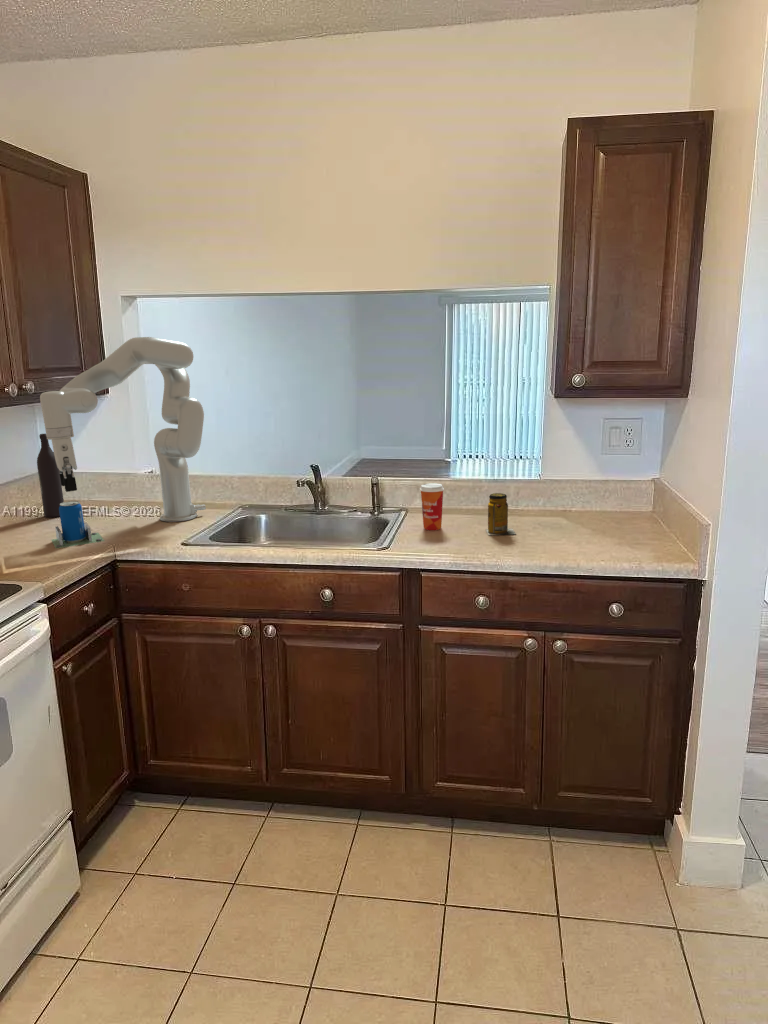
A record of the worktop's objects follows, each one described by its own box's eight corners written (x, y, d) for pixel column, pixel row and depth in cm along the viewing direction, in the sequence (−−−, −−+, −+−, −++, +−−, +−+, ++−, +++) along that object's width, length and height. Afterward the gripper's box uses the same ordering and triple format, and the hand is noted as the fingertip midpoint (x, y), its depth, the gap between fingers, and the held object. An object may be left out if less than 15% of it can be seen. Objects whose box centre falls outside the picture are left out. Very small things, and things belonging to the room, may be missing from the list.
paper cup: (415, 528, 227) (414, 485, 224) (430, 523, 233) (430, 481, 230) (434, 532, 222) (434, 488, 219) (449, 527, 228) (449, 484, 224)
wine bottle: (59, 512, 265) (47, 432, 258) (69, 514, 261) (58, 433, 254) (40, 516, 260) (28, 434, 253) (51, 519, 256) (39, 435, 249)
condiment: (485, 529, 224) (485, 492, 221) (512, 529, 224) (512, 491, 221) (488, 535, 217) (488, 497, 214) (516, 535, 217) (516, 496, 214)
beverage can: (77, 543, 218) (71, 506, 215) (59, 543, 220) (53, 505, 217) (90, 537, 224) (85, 500, 221) (72, 537, 226) (67, 500, 223)
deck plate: (98, 535, 231) (98, 531, 231) (105, 543, 221) (104, 539, 221) (51, 542, 224) (51, 538, 224) (56, 551, 214) (55, 547, 214)
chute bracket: (87, 535, 228) (86, 521, 227) (92, 541, 220) (90, 527, 219) (56, 540, 223) (54, 526, 222) (60, 546, 216) (58, 532, 215)
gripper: (77, 434, 209) (86, 491, 213) (69, 428, 223) (78, 481, 228) (49, 437, 205) (59, 495, 210) (43, 431, 220) (52, 485, 224)
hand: (69, 488), depth 219 cm, fingers open, 9 cm apart
